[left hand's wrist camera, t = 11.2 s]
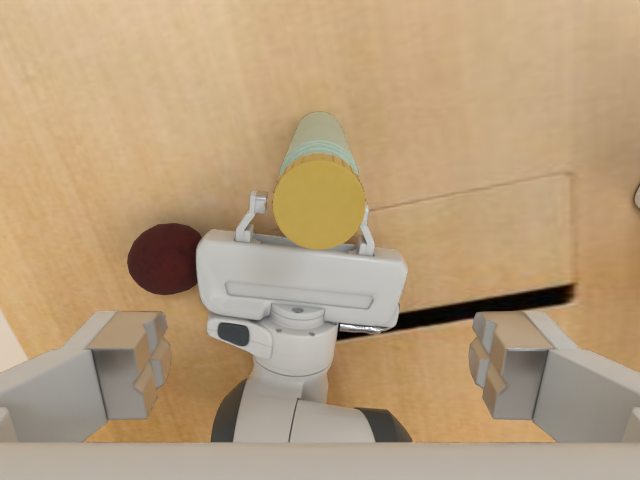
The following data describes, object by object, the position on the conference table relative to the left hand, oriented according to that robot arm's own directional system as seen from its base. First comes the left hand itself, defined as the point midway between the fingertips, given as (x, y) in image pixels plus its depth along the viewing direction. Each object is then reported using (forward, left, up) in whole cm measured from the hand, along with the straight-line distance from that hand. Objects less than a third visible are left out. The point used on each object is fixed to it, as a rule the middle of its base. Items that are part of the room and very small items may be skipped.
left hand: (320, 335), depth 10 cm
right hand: (-3, +4, -30) cm, 30 cm away
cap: (0, 0, -11) cm, 11 cm away
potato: (0, +19, -35) cm, 40 cm away
